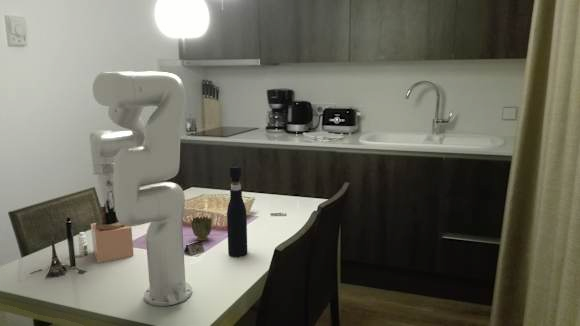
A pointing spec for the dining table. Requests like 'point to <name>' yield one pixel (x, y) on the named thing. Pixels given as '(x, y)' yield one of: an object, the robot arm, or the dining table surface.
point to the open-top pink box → (112, 243)
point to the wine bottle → (236, 216)
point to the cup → (201, 227)
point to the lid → (102, 224)
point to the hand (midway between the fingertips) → (110, 222)
